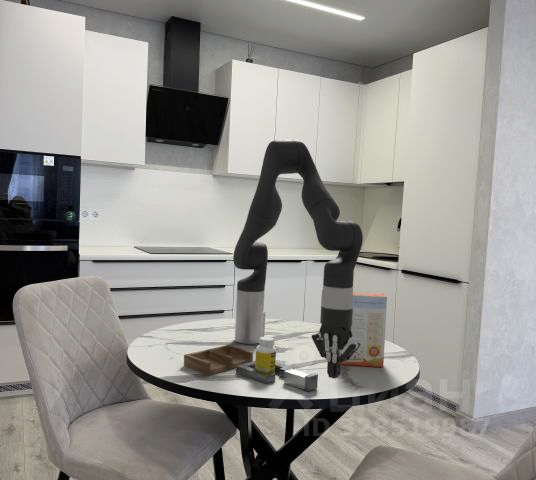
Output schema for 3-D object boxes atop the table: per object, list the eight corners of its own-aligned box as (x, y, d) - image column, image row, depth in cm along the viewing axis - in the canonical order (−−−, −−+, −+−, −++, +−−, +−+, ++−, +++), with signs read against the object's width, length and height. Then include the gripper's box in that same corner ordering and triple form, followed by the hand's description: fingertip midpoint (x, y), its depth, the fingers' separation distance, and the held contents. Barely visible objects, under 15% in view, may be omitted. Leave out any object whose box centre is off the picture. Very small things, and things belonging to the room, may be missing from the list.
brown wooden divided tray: (228, 355, 151) (229, 344, 151) (252, 362, 145) (253, 352, 144) (183, 366, 139) (184, 354, 139) (207, 375, 132) (207, 363, 132)
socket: (263, 365, 143) (264, 358, 143) (293, 375, 136) (293, 367, 135) (235, 373, 135) (236, 365, 135) (265, 384, 127) (266, 376, 127)
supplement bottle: (272, 378, 132) (274, 341, 131) (252, 376, 133) (254, 339, 132) (276, 372, 137) (278, 336, 137) (257, 370, 138) (258, 335, 138)
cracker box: (381, 362, 151) (385, 293, 150) (383, 368, 146) (388, 296, 144) (334, 358, 153) (338, 290, 152) (334, 364, 147) (338, 293, 146)
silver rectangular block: (291, 379, 131) (292, 366, 131) (317, 388, 126) (317, 374, 125) (282, 382, 128) (283, 368, 128) (308, 391, 123) (309, 377, 123)
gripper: (369, 307, 117) (365, 381, 118) (323, 299, 126) (320, 367, 127) (351, 311, 112) (347, 388, 113) (305, 302, 121) (301, 373, 122)
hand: (333, 377), depth 120 cm, fingers closed
